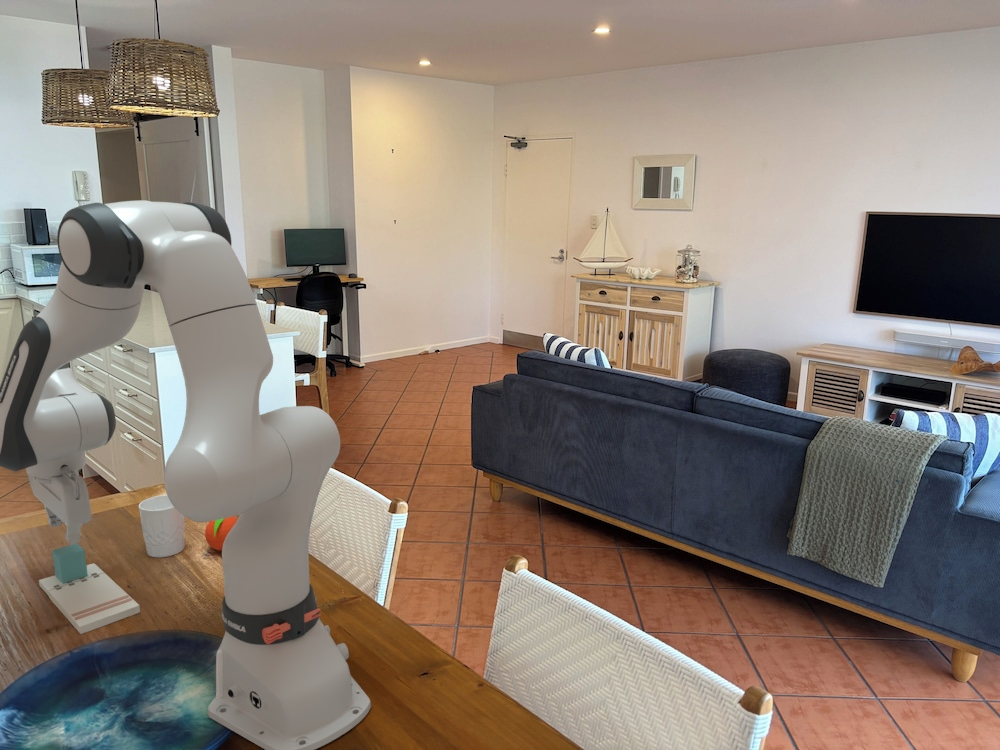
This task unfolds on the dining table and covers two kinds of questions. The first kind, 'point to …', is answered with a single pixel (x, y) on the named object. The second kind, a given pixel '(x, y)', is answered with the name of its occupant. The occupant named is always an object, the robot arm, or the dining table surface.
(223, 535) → the clementine
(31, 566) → the dining table surface
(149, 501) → the white cup
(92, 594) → the ticket
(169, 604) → the dining table surface
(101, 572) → the stub
